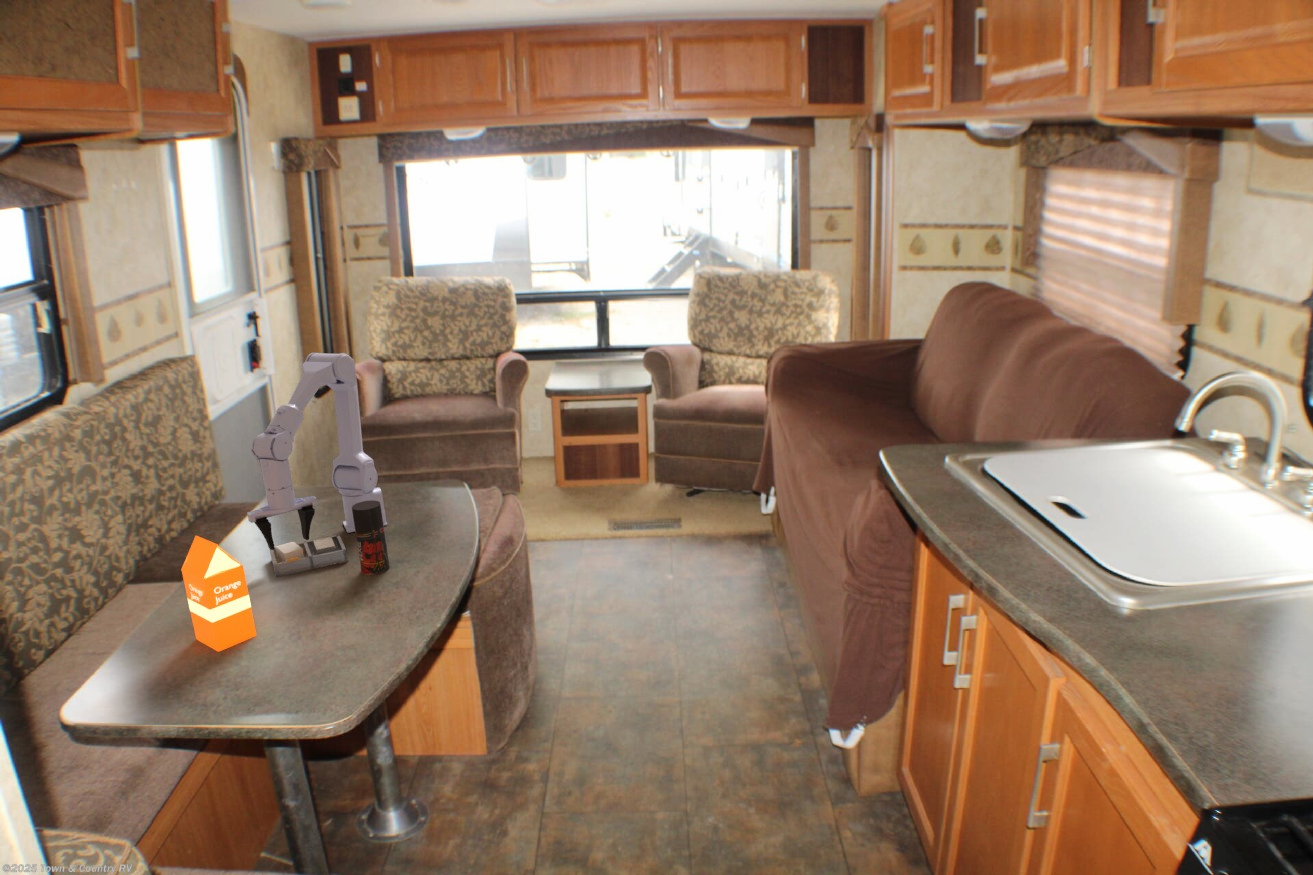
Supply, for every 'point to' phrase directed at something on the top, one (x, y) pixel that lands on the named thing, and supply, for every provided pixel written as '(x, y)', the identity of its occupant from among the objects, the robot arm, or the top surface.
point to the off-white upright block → (289, 551)
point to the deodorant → (370, 537)
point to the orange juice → (217, 596)
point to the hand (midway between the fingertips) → (289, 543)
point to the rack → (312, 556)
